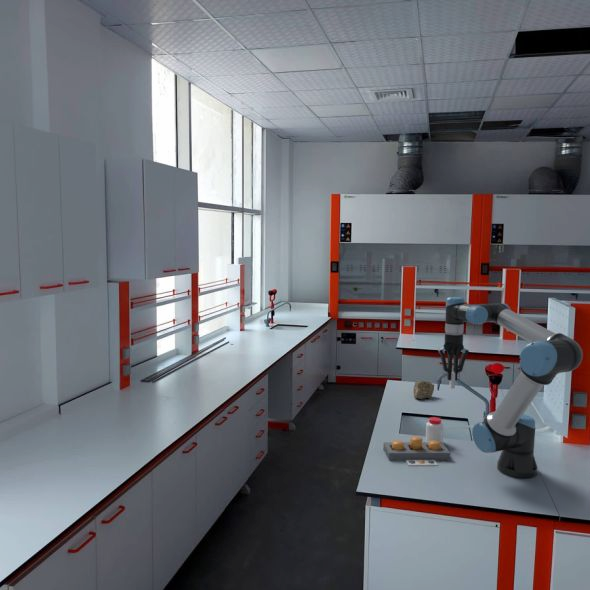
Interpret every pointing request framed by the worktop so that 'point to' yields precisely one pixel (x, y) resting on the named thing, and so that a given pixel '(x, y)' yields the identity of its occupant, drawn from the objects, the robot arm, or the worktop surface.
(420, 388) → the rock
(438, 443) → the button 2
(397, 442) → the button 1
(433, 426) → the pill bottle
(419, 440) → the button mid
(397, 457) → the board
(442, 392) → the worktop surface
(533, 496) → the worktop surface
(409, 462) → the pattern card
